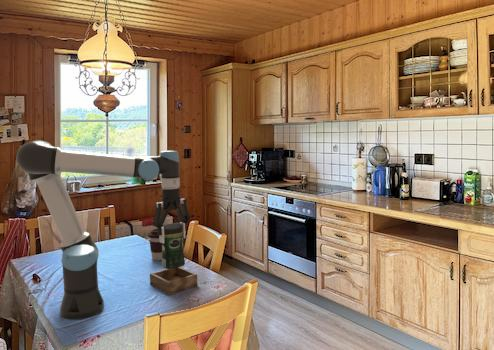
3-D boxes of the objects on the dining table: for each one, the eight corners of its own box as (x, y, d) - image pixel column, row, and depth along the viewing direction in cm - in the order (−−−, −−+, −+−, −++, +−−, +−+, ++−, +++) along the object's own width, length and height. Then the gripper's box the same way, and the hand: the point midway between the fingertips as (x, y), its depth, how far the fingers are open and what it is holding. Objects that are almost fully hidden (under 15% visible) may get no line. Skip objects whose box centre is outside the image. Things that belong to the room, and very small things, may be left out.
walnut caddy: (169, 294, 167) (169, 282, 166) (150, 284, 178) (149, 273, 177) (197, 285, 177) (197, 274, 176) (177, 276, 187) (177, 265, 187)
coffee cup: (146, 257, 215) (145, 229, 213) (164, 254, 220) (163, 226, 218) (153, 262, 207) (152, 233, 205) (172, 259, 212) (171, 230, 210)
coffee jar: (180, 261, 183) (178, 220, 180) (187, 266, 176) (185, 224, 173) (159, 265, 178) (157, 223, 176) (164, 271, 171) (162, 227, 169)
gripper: (151, 191, 162) (154, 247, 165) (197, 185, 177) (199, 236, 180) (142, 190, 167) (144, 243, 170) (187, 184, 183) (189, 233, 185)
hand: (172, 240), depth 175 cm, fingers closed on coffee jar, 10 cm apart
